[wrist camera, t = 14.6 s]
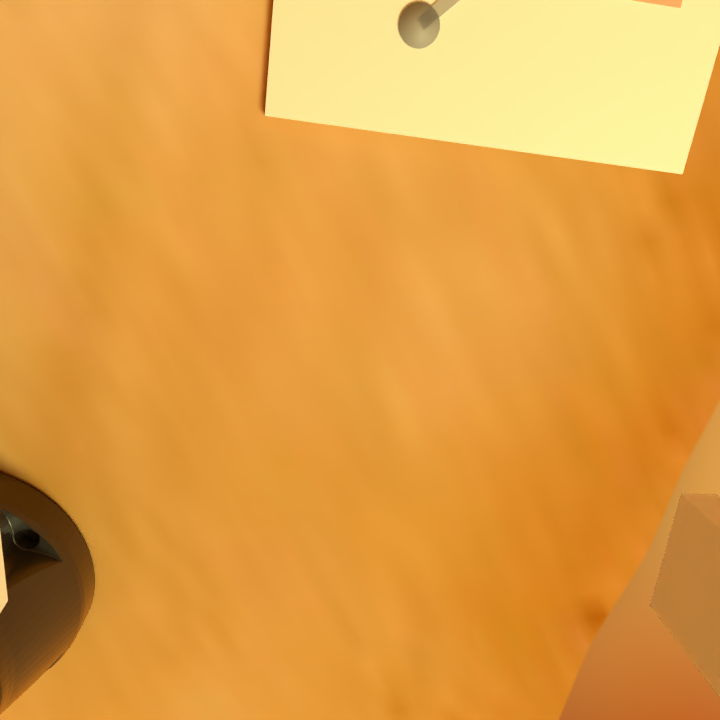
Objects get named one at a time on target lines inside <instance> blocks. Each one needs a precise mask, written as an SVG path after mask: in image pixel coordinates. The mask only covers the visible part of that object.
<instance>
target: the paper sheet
mask: <svg viewBox="0 0 720 720" xmlns="http://www.w3.org/2000/svg"><path fill="white" fill-rule="evenodd" d="M719 45H720V0H274V1H273V14H272V27H271V41H270V54H269V67H268V80H267V93H266V106H265V116H270V117H278V118H285V119H292V120H299V121H306V122H313V123H320V124H327V125H335V126H342V127H349V128H356V129H363V130H370V131H377V132H384V133H392V134H399V135H406V136H413V137H420V138H427V139H434V140H442V141H449V142H456V143H463V144H470V145H477V146H484V147H491V148H499V149H506V150H513V151H520V152H527V153H534V154H541V155H548V156H556V157H563V158H570V159H577V160H584V161H591V162H598V163H605V164H613V165H620V166H627V167H634V168H641V169H648V170H655V171H663V172H670V173H677V174H683V171H684V167H685V164H686V160H687V157H688V153H689V150H690V146H691V143H692V139H693V136H694V132H695V129H696V125H697V122H698V118H699V115H700V111H701V108H702V104H703V101H704V97H705V94H706V90H707V87H708V83H709V80H710V76H711V73H712V69H713V66H714V62H715V59H716V55H717V52H718V48H719Z"/></svg>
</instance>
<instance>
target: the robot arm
mask: <svg viewBox="0 0 720 720" xmlns="http://www.w3.org/2000/svg"><path fill="white" fill-rule="evenodd" d="M94 589H95V573H94V566H93V562H92V558H91V555H90V552H89V549H88V547H87V545H86V543H85V541H84V539H83V537H82V535H81V534H80V532H79V530H78V529H77V528H76V526H75V525H74V523H73V522H72V521H71V520H70V519H69V517H68V516H67V515H66V514H65V513H64V512H63V511H62V510H61V509H60V508H59V507H58V506H57V505H56V504H54V503H53V502H52V501H51V500H50V499H48V498H47V497H46V496H44V495H43V494H41V493H40V492H38V491H37V490H35V489H34V488H32V487H30V486H28V485H26V484H25V483H23V482H21V481H18V480H16V479H14V478H12V477H9V476H6V475H4V474H1V473H0V714H1V713H2V712H3V711H4V710H5V709H7V708H8V707H9V706H10V705H11V704H12V703H13V702H14V701H15V700H16V699H17V698H18V697H20V696H21V695H22V694H23V693H24V692H25V691H26V690H27V689H28V688H29V687H30V686H31V685H32V684H33V683H34V682H35V681H36V680H37V679H38V678H39V677H40V676H41V675H42V674H43V673H44V672H45V671H47V670H48V669H49V668H51V667H52V666H53V665H54V664H55V663H56V662H57V661H58V660H59V659H60V658H61V657H62V656H63V655H64V654H65V652H66V651H67V650H68V648H69V647H70V646H71V644H72V643H73V641H74V639H75V638H76V636H77V634H78V632H79V630H80V628H81V626H82V624H83V622H84V620H85V618H86V616H87V614H88V612H89V609H90V607H91V604H92V600H93V596H94ZM650 606H651V608H652V609H653V610H654V611H655V613H656V614H657V616H658V617H659V618H660V620H661V621H662V622H663V624H664V625H665V626H666V628H667V629H668V630H669V631H670V633H671V634H672V635H673V637H674V638H675V639H676V641H677V642H678V643H679V645H680V646H681V647H682V649H683V650H684V651H685V653H686V654H687V655H688V656H689V658H690V659H691V660H692V661H693V663H694V664H695V666H696V667H697V668H698V670H699V671H700V672H701V674H702V675H703V676H704V678H705V679H706V680H707V682H708V683H709V684H710V686H711V687H712V688H713V690H714V691H715V692H716V694H717V695H718V696H719V697H720V497H719V496H718V495H716V494H686V493H681V496H680V499H679V503H678V507H677V510H676V514H675V517H674V521H673V524H672V528H671V532H670V535H669V539H668V542H667V546H666V549H665V553H664V557H663V560H662V564H661V567H660V571H659V574H658V578H657V582H656V585H655V589H654V592H653V596H652V599H651V603H650Z"/></svg>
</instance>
